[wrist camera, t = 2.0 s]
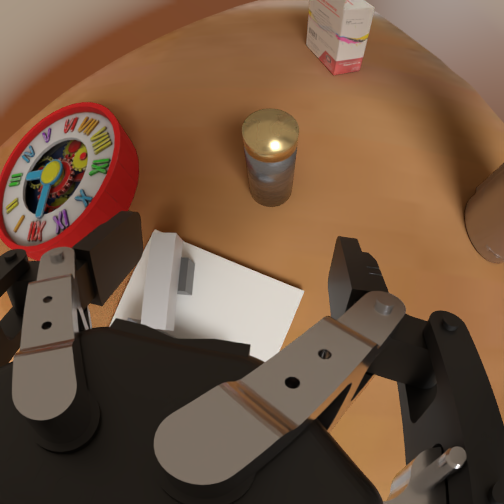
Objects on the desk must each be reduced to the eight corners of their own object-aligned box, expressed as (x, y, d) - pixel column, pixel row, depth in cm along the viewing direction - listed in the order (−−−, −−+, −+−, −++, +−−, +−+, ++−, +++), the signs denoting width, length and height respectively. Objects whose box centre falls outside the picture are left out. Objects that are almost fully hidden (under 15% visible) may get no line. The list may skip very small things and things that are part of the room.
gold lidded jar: (259, 165, 33) (255, 103, 23) (297, 178, 32) (306, 118, 23) (243, 198, 32) (232, 141, 22) (282, 212, 31) (287, 159, 22)
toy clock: (139, 90, 31) (97, 255, 25) (153, 119, 36) (124, 270, 31) (23, 118, 32) (-21, 251, 27) (43, 139, 38) (7, 263, 32)
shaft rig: (157, 232, 32) (137, 211, 26) (303, 292, 29) (310, 281, 24) (71, 444, 25) (43, 456, 20) (195, 517, 23) (182, 543, 17)
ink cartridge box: (361, 71, 37) (382, -10, 23) (332, 76, 37) (347, -11, 23) (331, 40, 39) (341, -35, 25) (304, 44, 39) (309, -35, 25)
